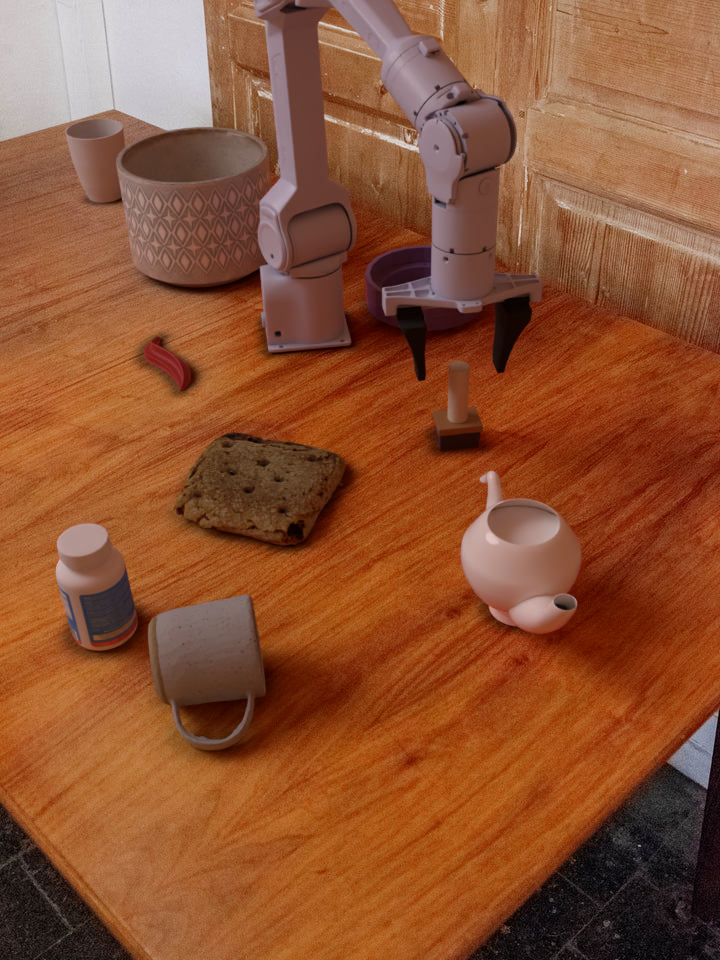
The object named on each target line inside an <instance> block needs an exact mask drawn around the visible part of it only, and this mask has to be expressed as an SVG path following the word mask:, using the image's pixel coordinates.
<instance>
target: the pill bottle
mask: <svg viewBox="0 0 720 960" xmlns="http://www.w3.org/2000/svg"><path fill="white" fill-rule="evenodd" d="M56 548H57V553H58V557H59V560H58V562H57V564H56V565H55V566H56V567H55V579H56V582H57V583H56V584H57V586H58V590H59V594H60V597H61V600H62V604H63V607H64V611H65V615H66V618H67V622H68V626H69V628H70V632H71V634H72V635H71V636H72V637H73V639H74V640H75V642H76V643H77V644H78V645H79V646H81V647H82V648H84V649H87V650H90V651H97V652H102V651H109V650H111V649H115V648H117V647H119V646H121V645H123V644H125V643H126V642H127V641H128V640H130V639H131V638H132V637H133V635H134V634H135V632H136V630H137V628H138V620H139V619H138V615H137V609H136V605H135V602H134V598H133V593H132V588H131V583H130V579H129V574H128V570H127V566H126V562H125V559H124V556H123V553H122V552H121V551H120V550H119V549H117V548H116V547H115V546H114V545H112V541H111V538H110V535H109V532H108V530H107V529H106V528H105V527H104V526H102V525H101V524H97V523H93V522H91V523H90V522H89V523H79V524H75V525H73V526H71V527H69V528H67V529H66V530H64V531H63V532H62V533H61V534H60V535H59V537H58V538H57V540H56Z"/></svg>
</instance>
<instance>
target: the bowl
mask: <svg viewBox="0 0 720 960" xmlns="http://www.w3.org/2000/svg"><path fill="white" fill-rule="evenodd" d="M431 247H432V245H428V244H421V245H410V246H409V245H408V246H403V247H399V248H395V249H390V250H388V251H385V252H384V253H382V254H380V255H377V256H376V257H375V258H373V259H372V260H371V261H370V262H369V263H368V264H367V266H366V269H365V272H364V288H365V293H364V294H365V305H366V307H367V311H368V312H369V313H370V314H371V315H372V316H373V317H374V318H375V319H376V320H378V321H380V322H381V323H384V324H386V325H388V326H391V327H394V328H398V329H400V327H399V324H398V321H397V318H396V315H393V316H385V313H384V310H383V307H382V288H383V287H391V286H397V285H401V284H405V283H408V282H412V281H416V280H419V279H423V278H426V277H430V276H431ZM484 307H485V305H484V306H482V310H481V311H480V312H474V313H461V312H459V310H458V309H454V308H430V309H422V312H423V314H424V321H425V324H426V326H427V332H431V331H442V330H443V331H444V330H449V329H452V328H453V329H454V328H456V327H460V326H463V325H465V324H467V323H469V322H471V321H472V320H475V319H476V318H477V317H478V316H479V315H480V314H481V313H482V312H483V311H484Z"/></svg>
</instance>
